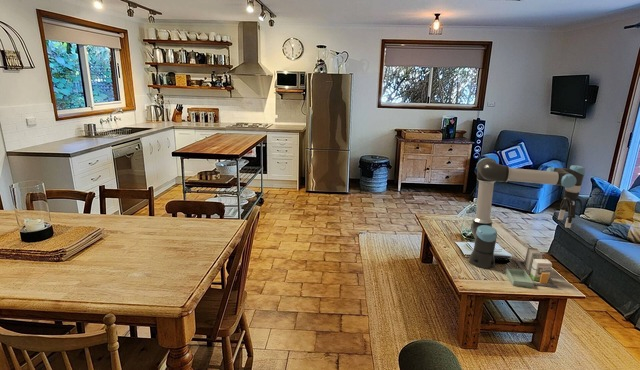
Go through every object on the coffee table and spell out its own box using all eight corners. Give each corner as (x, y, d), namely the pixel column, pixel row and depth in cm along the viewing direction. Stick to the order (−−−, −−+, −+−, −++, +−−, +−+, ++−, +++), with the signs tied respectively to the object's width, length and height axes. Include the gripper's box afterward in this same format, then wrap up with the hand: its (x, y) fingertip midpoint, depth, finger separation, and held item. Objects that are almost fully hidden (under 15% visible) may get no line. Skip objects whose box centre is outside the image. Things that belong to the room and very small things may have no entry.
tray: (512, 285, 206) (513, 280, 205) (504, 272, 220) (505, 268, 219) (532, 287, 204) (533, 283, 203) (523, 274, 218) (524, 270, 217)
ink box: (533, 280, 211) (537, 262, 208) (529, 276, 216) (533, 258, 213) (548, 281, 211) (552, 263, 208) (543, 276, 216) (547, 259, 213)
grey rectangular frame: (531, 284, 207) (534, 274, 205) (515, 261, 234) (517, 251, 232) (557, 287, 205) (560, 276, 203) (537, 263, 232) (540, 253, 230)
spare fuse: (529, 271, 221) (533, 254, 218) (524, 264, 230) (527, 247, 226) (538, 272, 220) (542, 255, 217) (532, 265, 229) (536, 248, 225)
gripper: (587, 197, 207) (578, 232, 213) (572, 186, 230) (564, 217, 236) (572, 196, 209) (563, 230, 215) (558, 184, 232) (551, 215, 238)
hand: (563, 223), depth 226 cm, fingers open, 13 cm apart
